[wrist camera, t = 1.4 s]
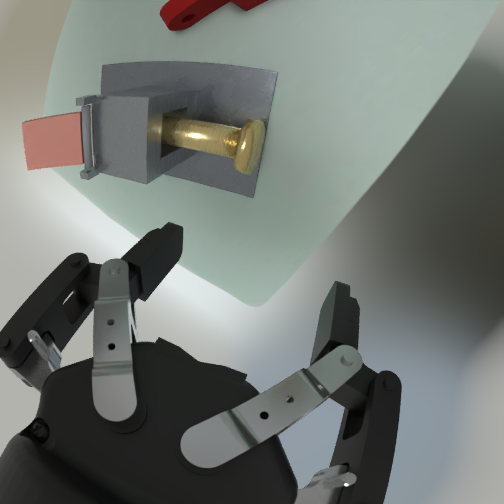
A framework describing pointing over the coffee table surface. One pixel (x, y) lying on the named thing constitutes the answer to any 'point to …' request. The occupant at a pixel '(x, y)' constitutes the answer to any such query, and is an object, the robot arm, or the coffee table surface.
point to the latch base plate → (174, 105)
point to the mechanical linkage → (196, 11)
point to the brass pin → (217, 139)
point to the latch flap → (58, 140)
